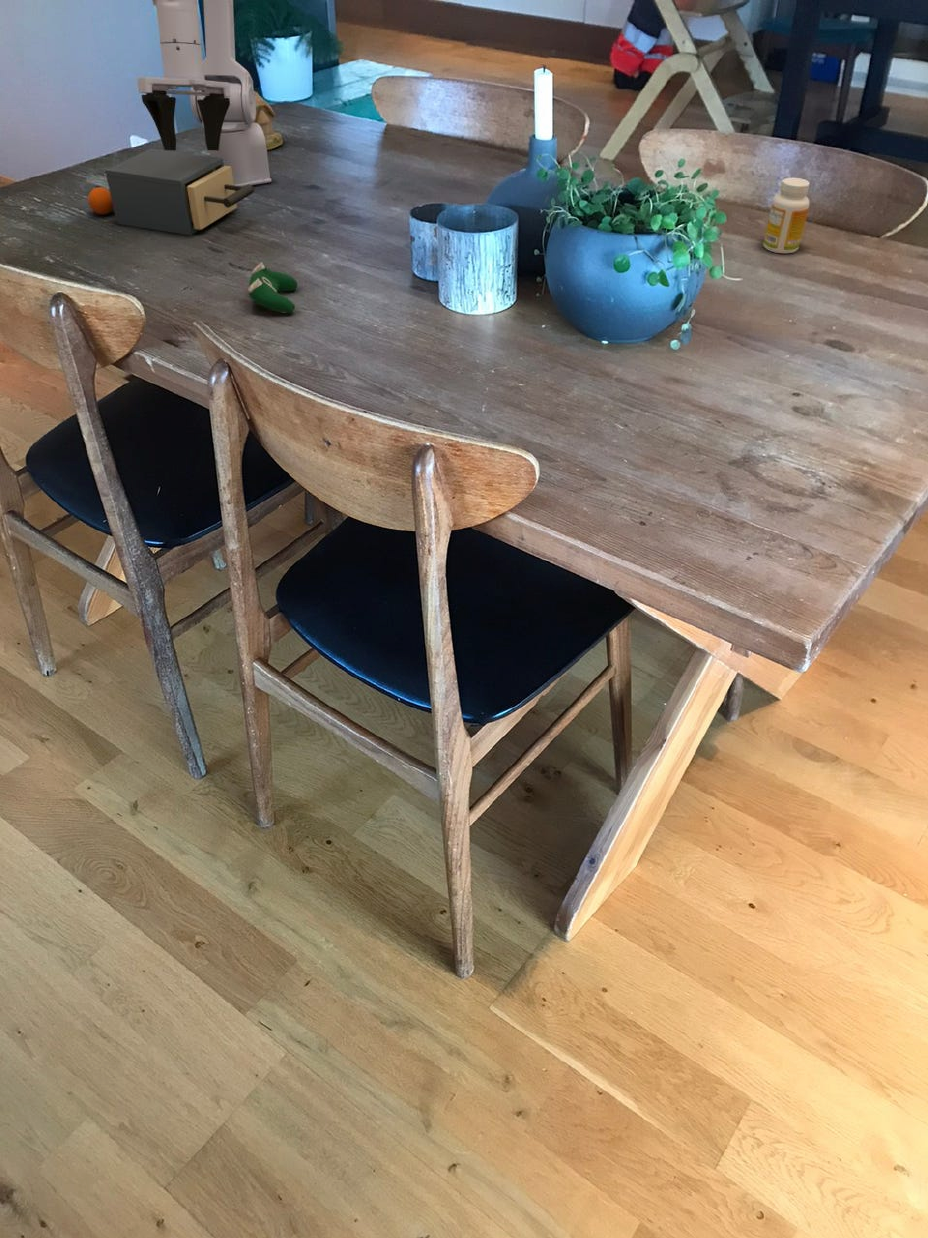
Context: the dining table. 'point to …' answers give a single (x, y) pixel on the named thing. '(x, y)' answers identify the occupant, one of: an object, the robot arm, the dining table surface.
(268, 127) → the ceramic model
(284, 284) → the green fabric slippers
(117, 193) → the cabinet
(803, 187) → the supplement bottle
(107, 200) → the ball
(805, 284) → the dining table surface
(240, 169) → the robot arm
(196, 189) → the drawer
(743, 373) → the dining table surface
